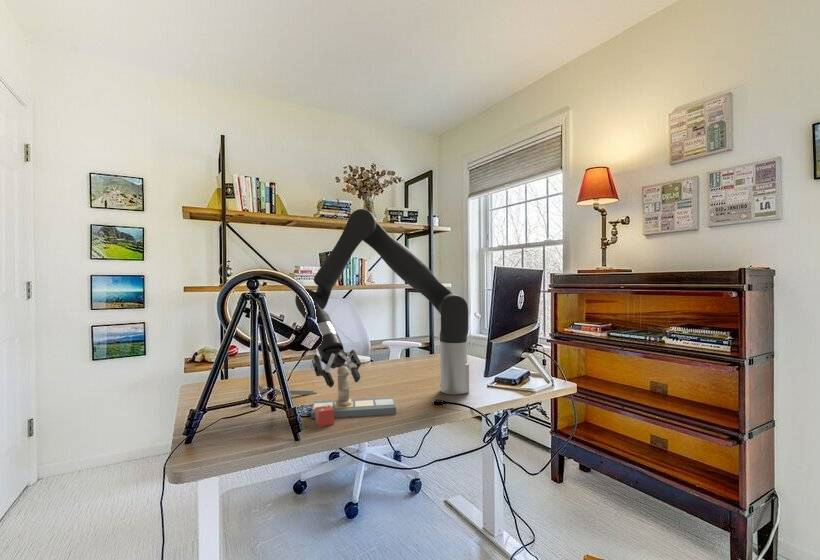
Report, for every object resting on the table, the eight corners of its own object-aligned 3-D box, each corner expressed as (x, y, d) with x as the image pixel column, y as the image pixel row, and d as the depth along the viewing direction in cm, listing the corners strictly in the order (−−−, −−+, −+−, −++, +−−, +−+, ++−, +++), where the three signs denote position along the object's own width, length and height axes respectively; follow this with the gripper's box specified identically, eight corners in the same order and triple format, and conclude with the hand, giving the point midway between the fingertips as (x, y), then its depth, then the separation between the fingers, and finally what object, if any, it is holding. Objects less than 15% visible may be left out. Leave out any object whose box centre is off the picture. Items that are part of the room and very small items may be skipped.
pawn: (351, 401, 121) (350, 364, 121) (351, 406, 117) (350, 367, 117) (336, 402, 120) (335, 364, 120) (335, 407, 116) (335, 367, 116)
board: (392, 403, 126) (392, 396, 126) (396, 413, 116) (396, 406, 116) (314, 407, 122) (314, 400, 122) (311, 419, 112) (310, 411, 112)
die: (329, 419, 112) (329, 404, 112) (334, 424, 108) (333, 409, 108) (315, 422, 110) (315, 407, 110) (319, 427, 106) (319, 411, 106)
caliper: (254, 405, 126) (254, 385, 126) (254, 404, 127) (253, 384, 127) (317, 394, 137) (316, 375, 137) (315, 393, 138) (315, 375, 138)
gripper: (309, 334, 120) (327, 380, 111) (350, 329, 129) (370, 371, 120) (302, 349, 124) (319, 394, 115) (343, 344, 133) (361, 386, 124)
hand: (345, 383), depth 118 cm, fingers open, 8 cm apart
